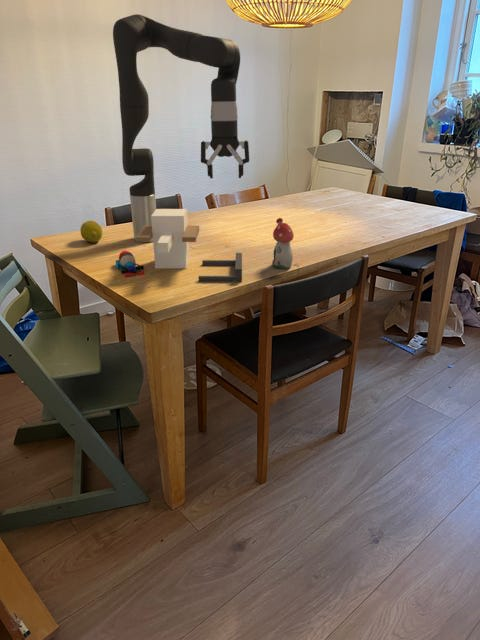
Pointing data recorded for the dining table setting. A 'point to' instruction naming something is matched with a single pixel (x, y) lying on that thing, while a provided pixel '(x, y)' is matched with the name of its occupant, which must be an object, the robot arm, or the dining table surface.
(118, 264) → the toy figure
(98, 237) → the lemon
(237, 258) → the grey u-shaped bracket
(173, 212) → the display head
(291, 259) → the decorative ornament
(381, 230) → the dining table surface
